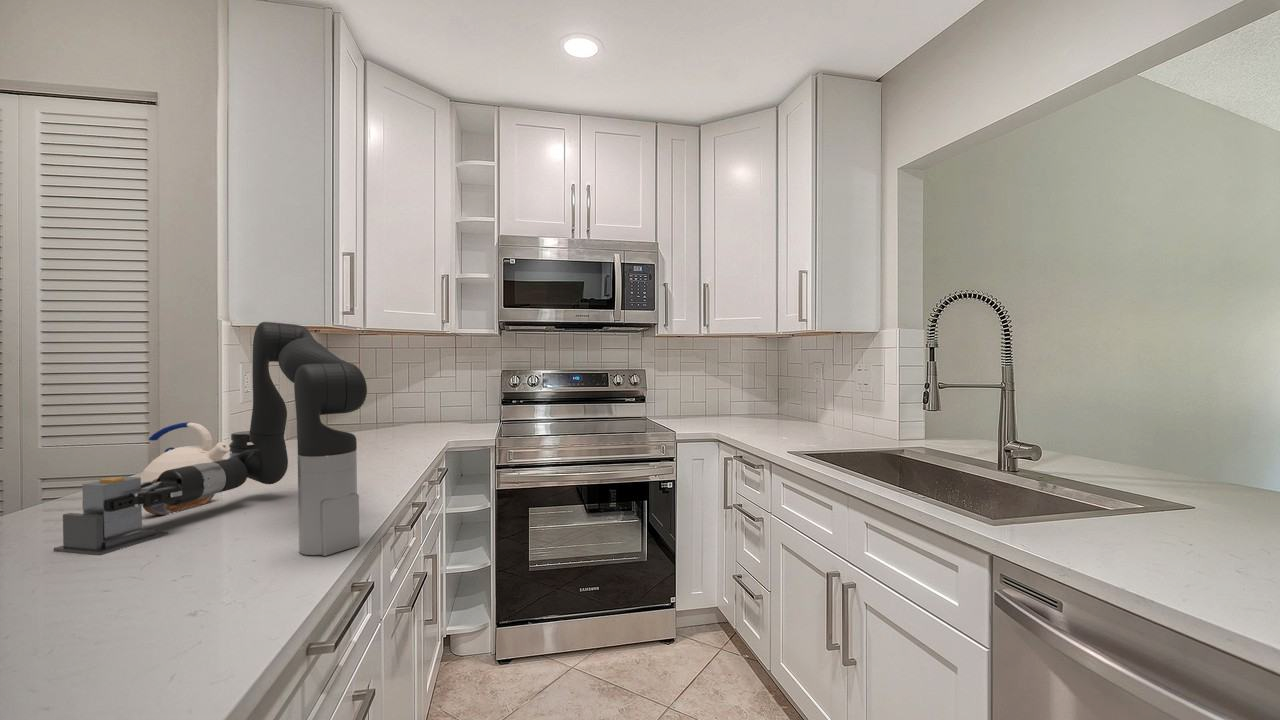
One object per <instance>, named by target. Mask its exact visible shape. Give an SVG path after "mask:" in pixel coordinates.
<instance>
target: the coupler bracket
mask: <svg viewBox="0 0 1280 720" xmlns="http://www.w3.org/2000/svg"><path fill="white" fill-rule="evenodd" d="M167 534H168V535H169V532H168V531H163V530H156V528H148V529H141V530H137V531H134V532H131V533H127V534H124V535H120V536H117V537H114V538H110V539H107V540H103V515H92V514H83V513H78V512H77V513H76V512H75V513H74V512H68V513H64V514H62V539H63V541H62V544H63V545H60V546H56V547H53V551H54V552H62V553H73V554H83V555H85V554H86V555H94V556H102V555H105V554H108V553H111V552H115V551H118V550H121V549H120V548H122V549H124V548H123V547H125V548H128V547H131V546H134V545H133V544H135V545H137V543H138V544H141V543H145V542H148V541H150V540H155V539H158V538H161V537H165V536H167ZM147 540H148V541H147ZM144 541H145V542H144ZM140 542H141V543H140ZM130 545H131V546H130ZM127 546H128V547H127ZM117 549H118V550H117Z"/></svg>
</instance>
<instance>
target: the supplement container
mask: <svg viewBox="0 0 1280 720" xmlns="http://www.w3.org/2000/svg"><path fill="white" fill-rule="evenodd" d="M249 433H250V430H244V431H237V432H232V433H230V440H231V442H230V443H229V447H230V451H229V458H231V457H232V456H235V455H237V454H239V453H241V452H243V451H246V450H251V449H258V448H257V447H256V446H255V445H254V444H253V443H252V442H251V441H250V439H249Z"/></svg>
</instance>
